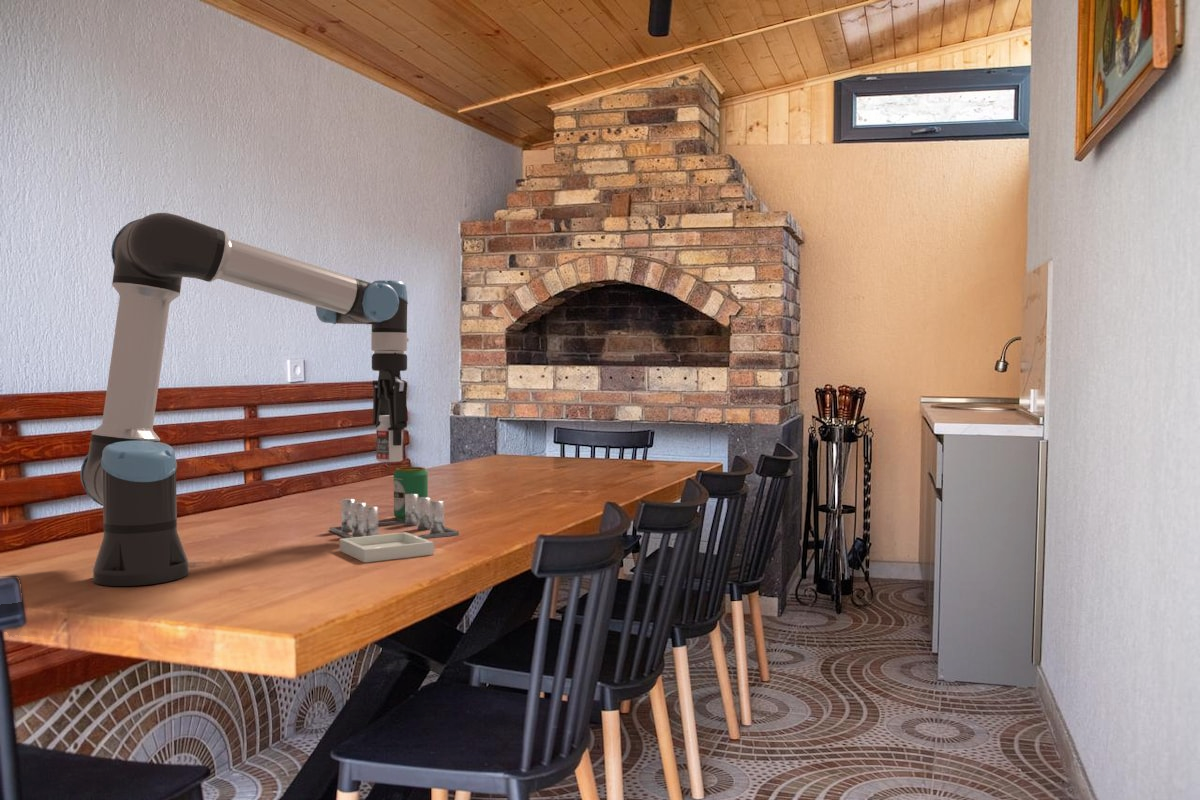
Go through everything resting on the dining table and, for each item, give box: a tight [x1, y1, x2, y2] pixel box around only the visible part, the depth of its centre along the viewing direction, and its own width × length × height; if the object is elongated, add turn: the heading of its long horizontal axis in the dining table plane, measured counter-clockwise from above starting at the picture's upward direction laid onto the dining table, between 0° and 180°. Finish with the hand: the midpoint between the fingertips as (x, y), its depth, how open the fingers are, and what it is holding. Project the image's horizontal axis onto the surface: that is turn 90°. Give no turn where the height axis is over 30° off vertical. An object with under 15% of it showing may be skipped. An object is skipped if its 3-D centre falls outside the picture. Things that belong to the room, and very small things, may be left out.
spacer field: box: [329, 494, 460, 539], centre depth 222 cm, size 22×22×7 cm
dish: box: [339, 531, 435, 563], centre depth 198 cm, size 14×14×2 cm
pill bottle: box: [375, 415, 404, 463], centre depth 219 cm, size 6×6×10 cm
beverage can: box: [393, 466, 429, 521], centre depth 242 cm, size 8×8×12 cm
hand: (389, 459), depth 219 cm, fingers closed on pill bottle, 6 cm apart
